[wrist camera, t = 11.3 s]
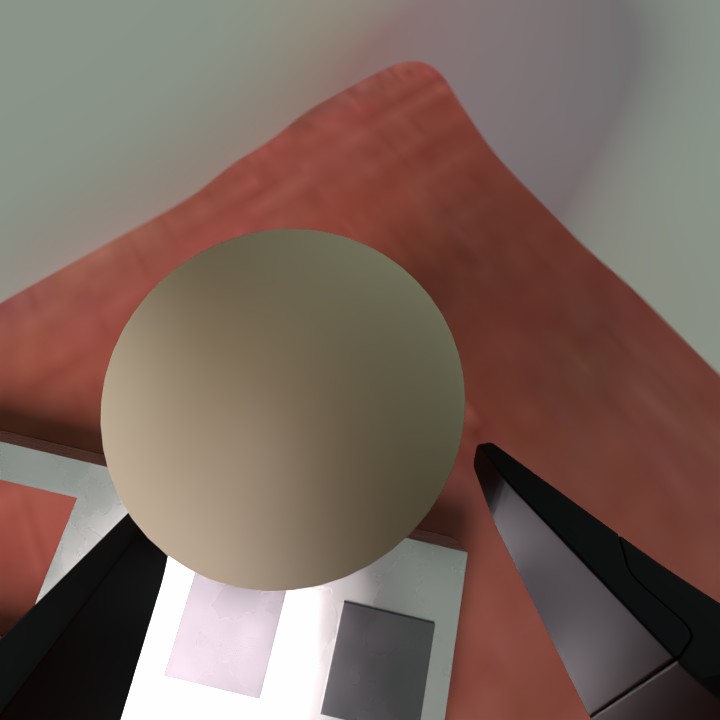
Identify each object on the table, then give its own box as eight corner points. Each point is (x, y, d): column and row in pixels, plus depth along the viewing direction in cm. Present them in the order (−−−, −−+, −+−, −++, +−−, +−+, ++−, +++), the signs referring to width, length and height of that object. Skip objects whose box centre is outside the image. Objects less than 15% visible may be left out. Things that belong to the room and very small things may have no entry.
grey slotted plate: (417, 779, 14) (429, 839, 12) (-147, 641, 14) (-231, 678, 12) (452, 537, 16) (468, 553, 14) (-37, 421, 16) (-92, 420, 14)
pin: (335, 486, 16) (294, 690, 4) (266, 422, 17) (20, 405, 4) (395, 413, 17) (532, 372, 5) (328, 354, 18) (283, 172, 5)
